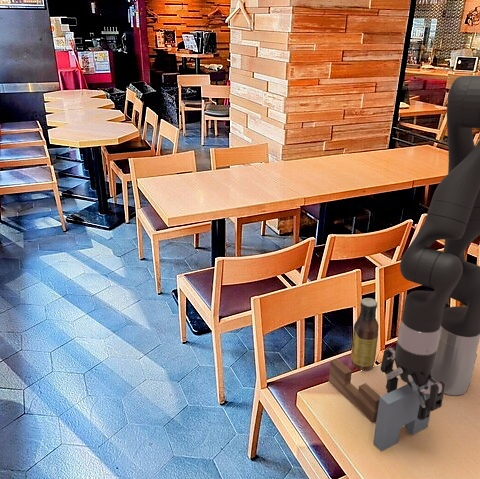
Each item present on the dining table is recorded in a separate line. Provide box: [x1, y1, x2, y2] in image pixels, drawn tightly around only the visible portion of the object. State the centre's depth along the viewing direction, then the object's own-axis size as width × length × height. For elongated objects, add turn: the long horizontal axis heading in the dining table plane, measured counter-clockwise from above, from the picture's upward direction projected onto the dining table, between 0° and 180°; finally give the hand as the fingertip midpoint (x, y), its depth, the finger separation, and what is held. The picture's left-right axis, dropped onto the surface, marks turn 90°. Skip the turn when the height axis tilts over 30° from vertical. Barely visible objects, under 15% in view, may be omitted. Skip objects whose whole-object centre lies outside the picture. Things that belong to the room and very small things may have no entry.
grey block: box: [372, 378, 436, 452], centre depth 98 cm, size 14×2×13 cm, turn 118°
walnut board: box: [328, 358, 382, 424], centre depth 109 cm, size 2×16×6 cm, turn 28°
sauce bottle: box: [350, 297, 379, 371], centre depth 119 cm, size 7×6×20 cm
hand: (406, 404), depth 97 cm, fingers open, 8 cm apart
